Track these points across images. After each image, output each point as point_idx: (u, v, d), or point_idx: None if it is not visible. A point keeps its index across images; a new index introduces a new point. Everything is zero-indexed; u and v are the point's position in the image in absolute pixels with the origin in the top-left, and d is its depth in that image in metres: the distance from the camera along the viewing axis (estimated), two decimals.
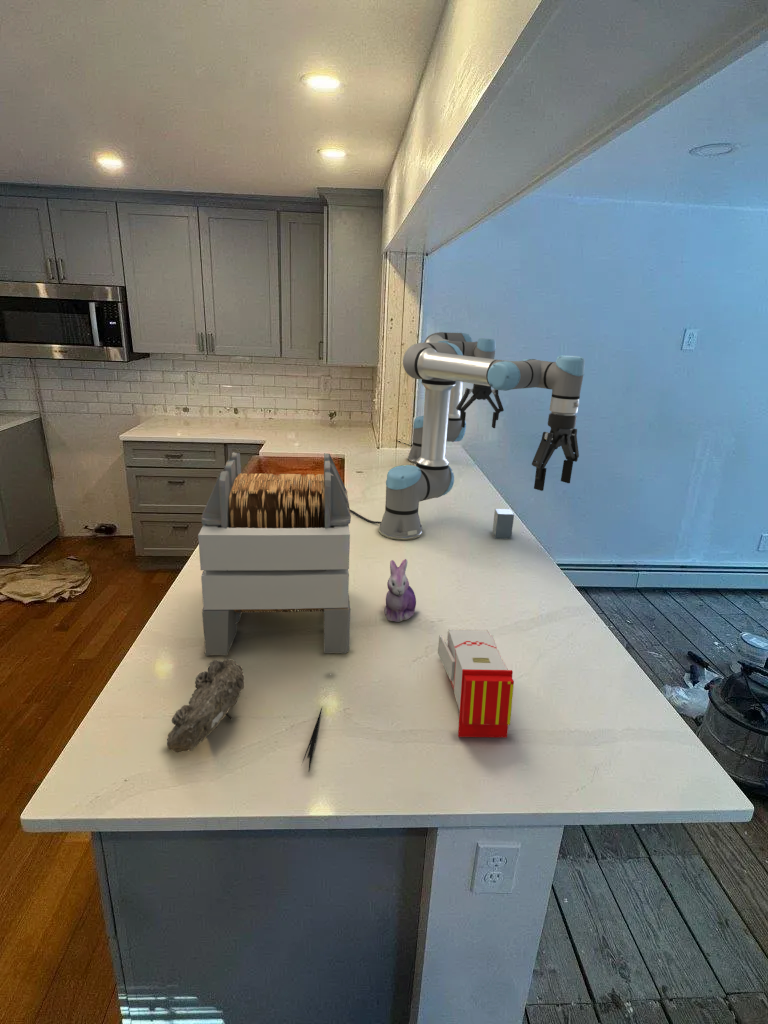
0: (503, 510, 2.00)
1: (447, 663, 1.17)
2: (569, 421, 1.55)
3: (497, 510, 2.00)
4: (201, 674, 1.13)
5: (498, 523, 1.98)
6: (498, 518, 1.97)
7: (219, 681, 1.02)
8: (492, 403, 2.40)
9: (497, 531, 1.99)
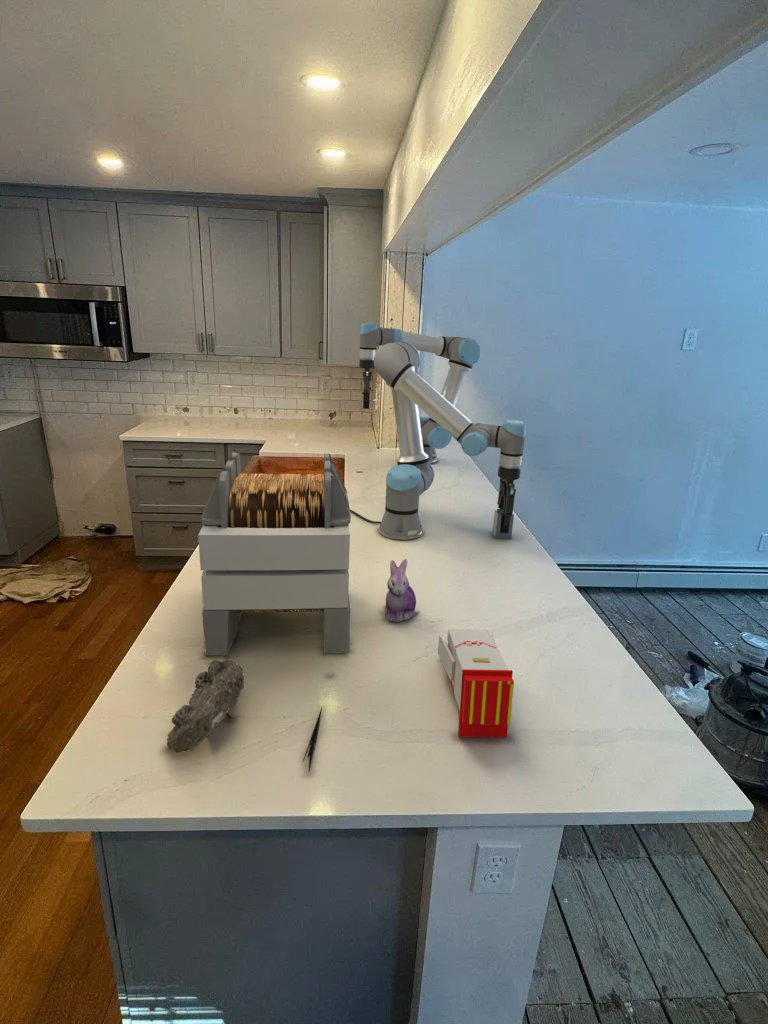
0: None
1: (447, 663, 1.17)
2: None
3: (497, 510, 2.00)
4: (201, 674, 1.13)
5: (498, 523, 1.98)
6: (498, 518, 1.97)
7: (219, 681, 1.02)
8: None
9: (497, 531, 1.99)
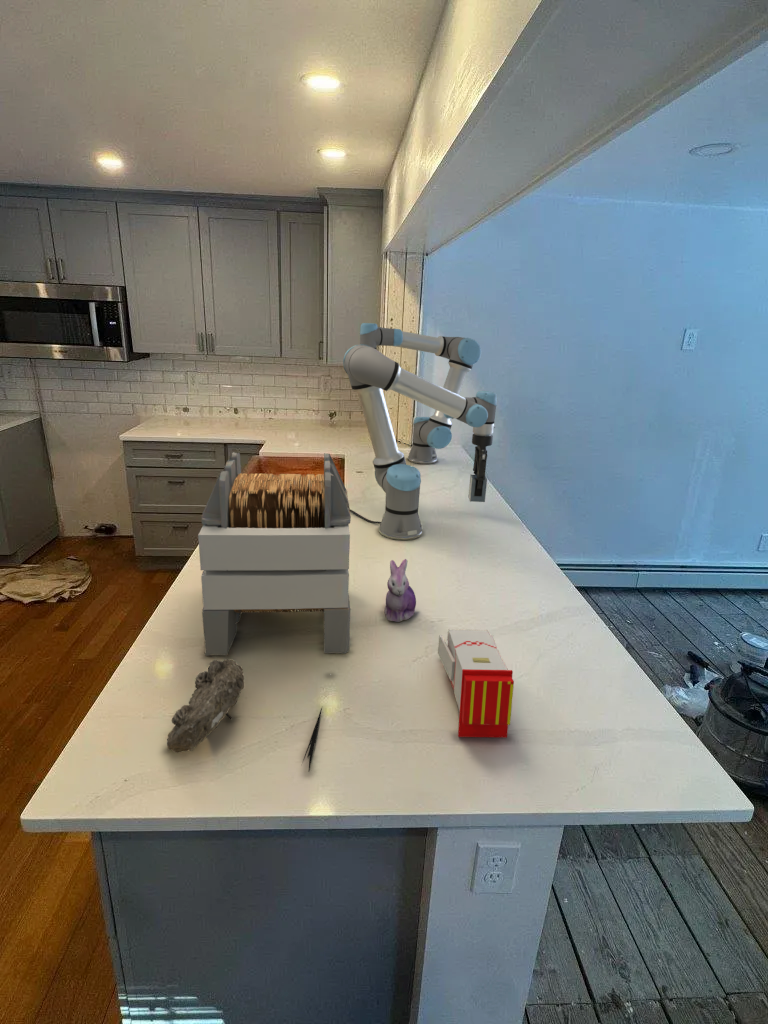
0: None
1: (447, 663, 1.17)
2: (492, 439, 2.09)
3: (472, 475, 2.17)
4: (201, 674, 1.13)
5: (472, 487, 2.14)
6: (472, 482, 2.14)
7: (219, 681, 1.02)
8: None
9: (472, 494, 2.15)
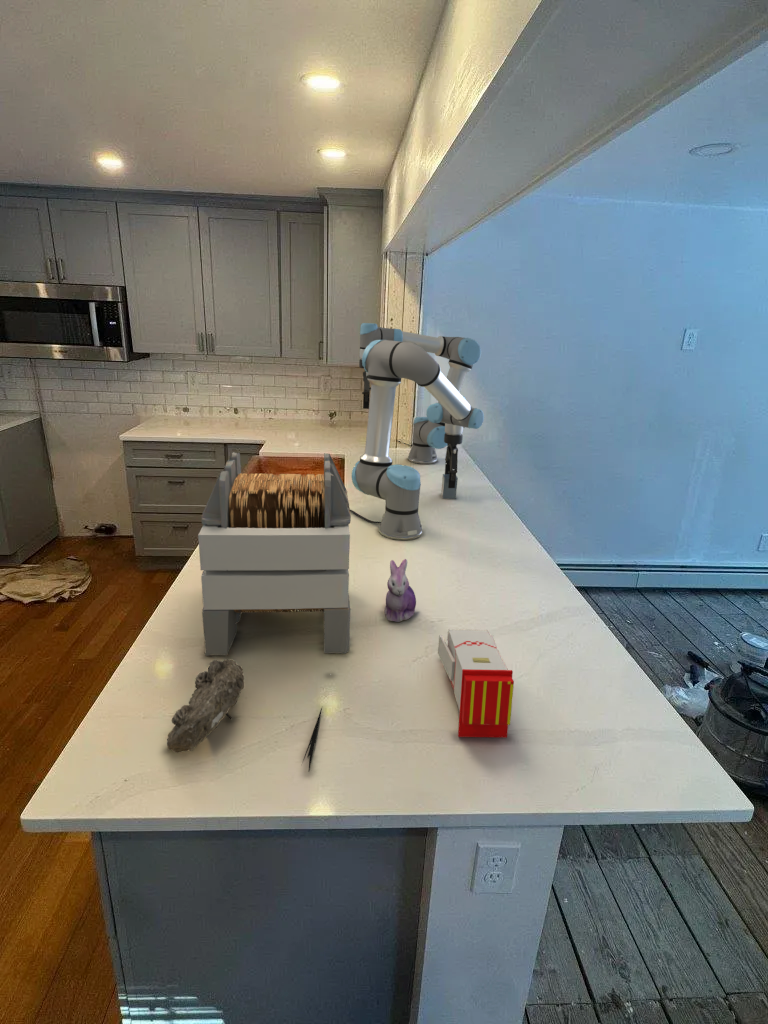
0: None
1: (447, 663, 1.17)
2: (462, 438, 2.32)
3: (444, 475, 2.40)
4: (201, 674, 1.13)
5: (444, 485, 2.38)
6: (444, 481, 2.37)
7: (219, 681, 1.02)
8: None
9: (444, 492, 2.39)
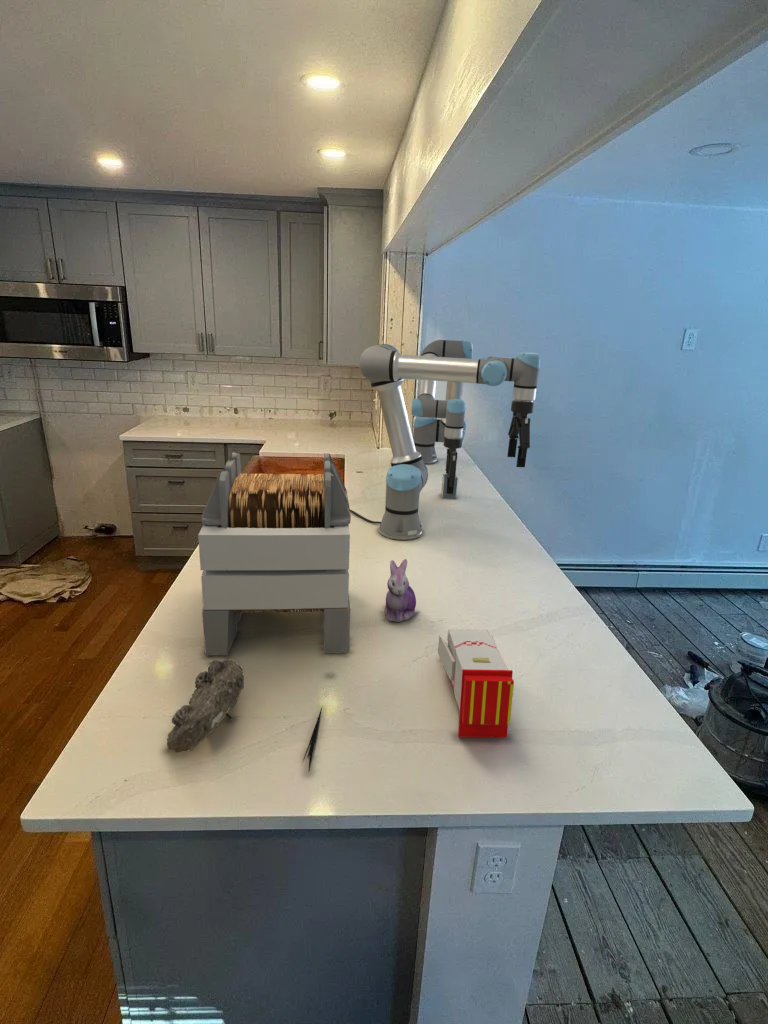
0: None
1: (447, 663, 1.17)
2: None
3: (444, 475, 2.40)
4: (201, 674, 1.13)
5: (444, 485, 2.38)
6: (444, 481, 2.37)
7: (219, 681, 1.02)
8: None
9: (444, 492, 2.39)
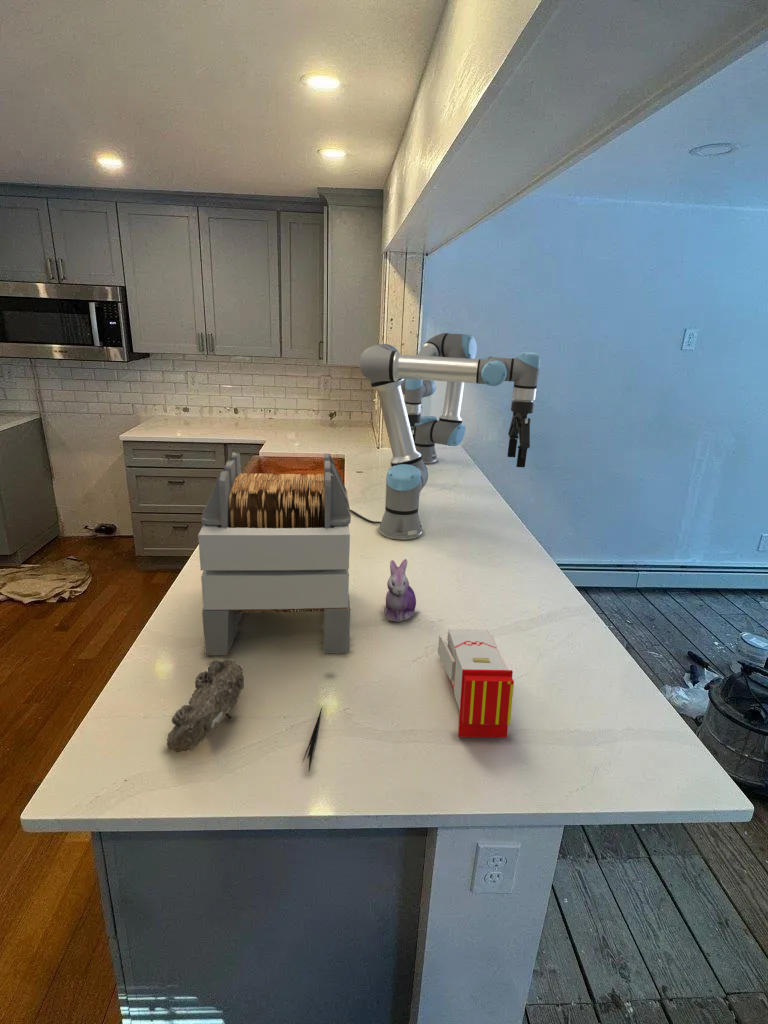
0: None
1: (447, 663, 1.17)
2: None
3: None
4: (201, 674, 1.13)
5: None
6: None
7: (219, 681, 1.02)
8: None
9: None
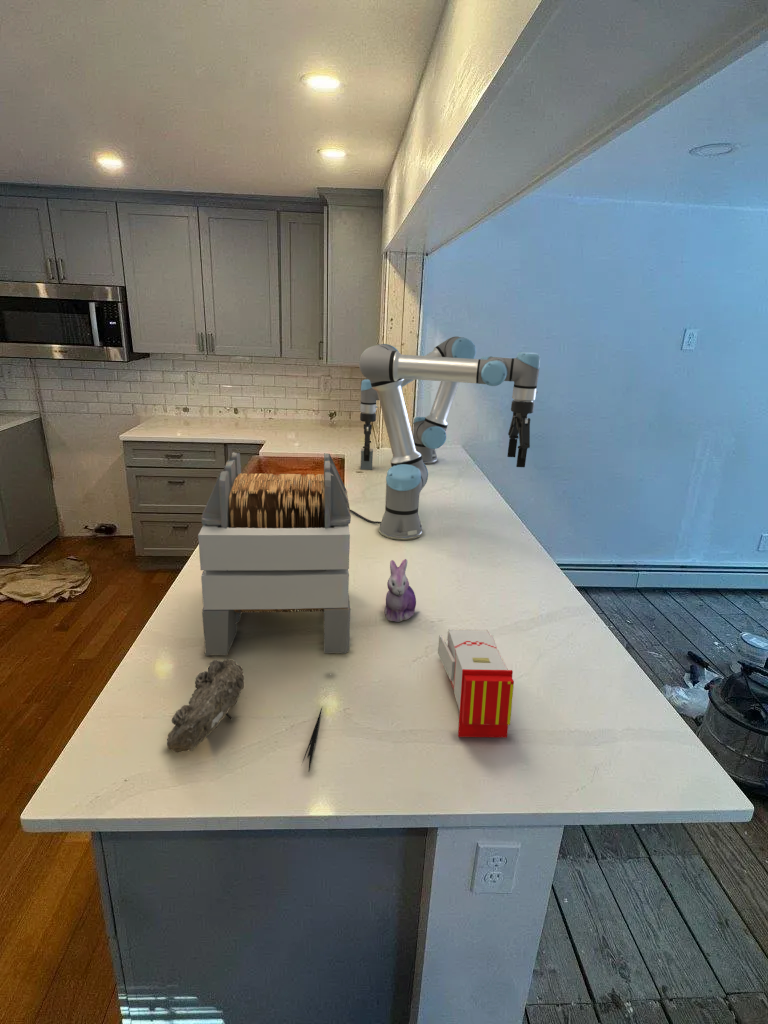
0: None
1: (447, 663, 1.17)
2: None
3: (362, 449, 2.77)
4: (201, 674, 1.13)
5: (362, 458, 2.75)
6: (361, 454, 2.74)
7: (219, 681, 1.02)
8: None
9: (361, 464, 2.76)
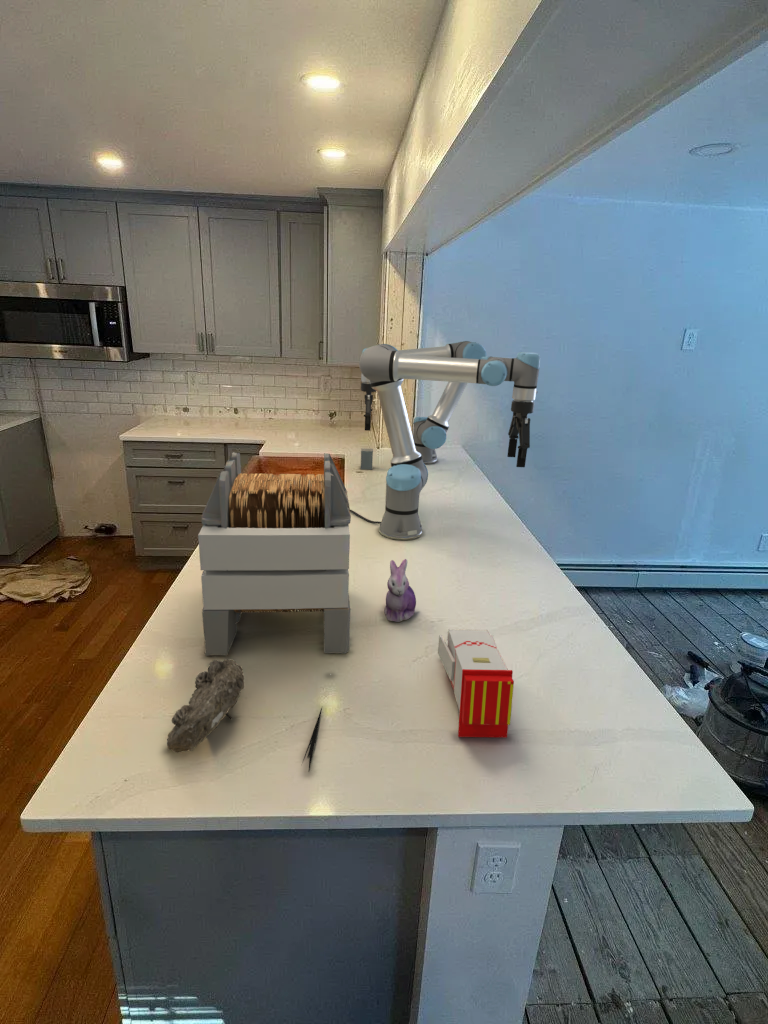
0: (366, 449, 2.78)
1: (447, 663, 1.17)
2: None
3: (362, 449, 2.77)
4: (201, 674, 1.13)
5: (362, 458, 2.75)
6: (361, 454, 2.74)
7: (219, 681, 1.02)
8: None
9: (361, 464, 2.76)
